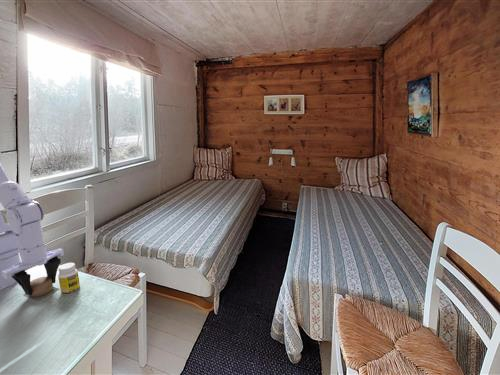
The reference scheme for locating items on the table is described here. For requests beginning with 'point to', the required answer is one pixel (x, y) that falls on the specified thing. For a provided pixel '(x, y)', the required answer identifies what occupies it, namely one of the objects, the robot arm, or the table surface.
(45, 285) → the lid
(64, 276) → the supplement bottle
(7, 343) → the table surface
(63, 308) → the table surface
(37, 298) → the mat
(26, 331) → the table surface
